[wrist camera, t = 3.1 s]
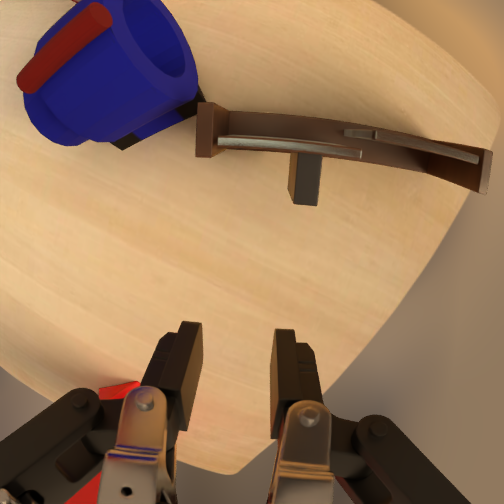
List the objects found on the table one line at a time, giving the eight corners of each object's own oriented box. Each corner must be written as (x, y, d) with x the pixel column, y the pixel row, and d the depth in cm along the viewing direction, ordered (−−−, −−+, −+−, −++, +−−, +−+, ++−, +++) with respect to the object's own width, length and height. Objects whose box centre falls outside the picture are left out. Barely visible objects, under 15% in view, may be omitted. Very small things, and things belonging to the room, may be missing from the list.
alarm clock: (216, 106, 25) (165, 82, 12) (106, 159, 27) (1, 193, 14) (173, 4, 21) (107, -71, 7) (72, 63, 23) (-32, 46, 9)
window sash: (329, 188, 26) (353, 213, 19) (229, 181, 26) (215, 202, 19) (333, 142, 25) (362, 149, 17) (231, 134, 25) (218, 135, 17)
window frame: (427, 172, 27) (486, 195, 17) (218, 147, 27) (195, 157, 18) (431, 140, 25) (493, 151, 16) (220, 111, 26) (197, 102, 16)
